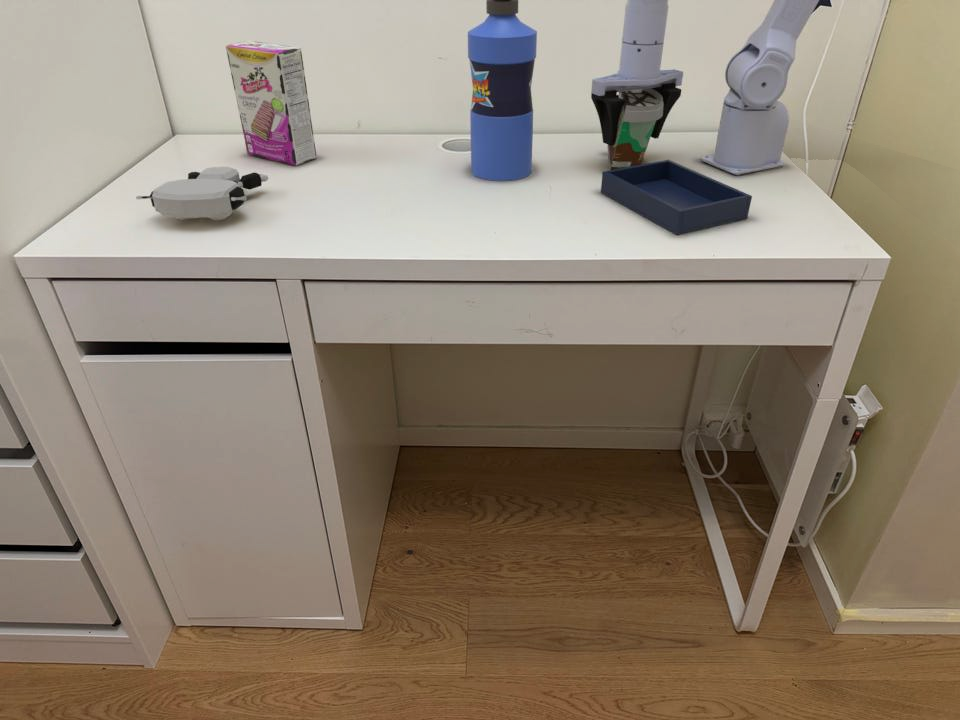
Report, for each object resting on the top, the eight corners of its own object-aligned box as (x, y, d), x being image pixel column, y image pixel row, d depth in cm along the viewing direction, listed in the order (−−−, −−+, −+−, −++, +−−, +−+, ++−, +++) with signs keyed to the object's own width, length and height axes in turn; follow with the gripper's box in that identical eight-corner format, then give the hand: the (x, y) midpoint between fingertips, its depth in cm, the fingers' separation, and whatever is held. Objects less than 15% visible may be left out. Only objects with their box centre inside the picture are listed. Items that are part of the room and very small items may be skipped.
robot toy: (192, 194, 98) (140, 228, 85) (186, 162, 96) (131, 192, 83) (276, 195, 98) (236, 230, 85) (271, 163, 95) (229, 194, 82)
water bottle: (514, 157, 108) (517, -24, 94) (544, 175, 101) (552, -19, 87) (460, 166, 105) (455, -21, 91) (487, 185, 98) (485, -14, 84)
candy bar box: (245, 156, 110) (223, 45, 101) (268, 147, 114) (249, 39, 105) (295, 167, 105) (277, 51, 96) (318, 158, 109) (302, 46, 100)
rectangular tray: (665, 180, 99) (668, 159, 97) (747, 218, 87) (752, 195, 85) (600, 192, 95) (602, 171, 93) (676, 235, 83) (680, 211, 81)
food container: (652, 181, 100) (671, 113, 94) (610, 175, 100) (626, 106, 94) (645, 149, 110) (662, 84, 103) (606, 143, 110) (621, 79, 104)
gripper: (666, 33, 101) (653, 127, 109) (582, 41, 96) (575, 139, 104) (698, 40, 96) (682, 139, 104) (612, 49, 91) (602, 152, 98)
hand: (631, 140), depth 103 cm, fingers open, 7 cm apart
